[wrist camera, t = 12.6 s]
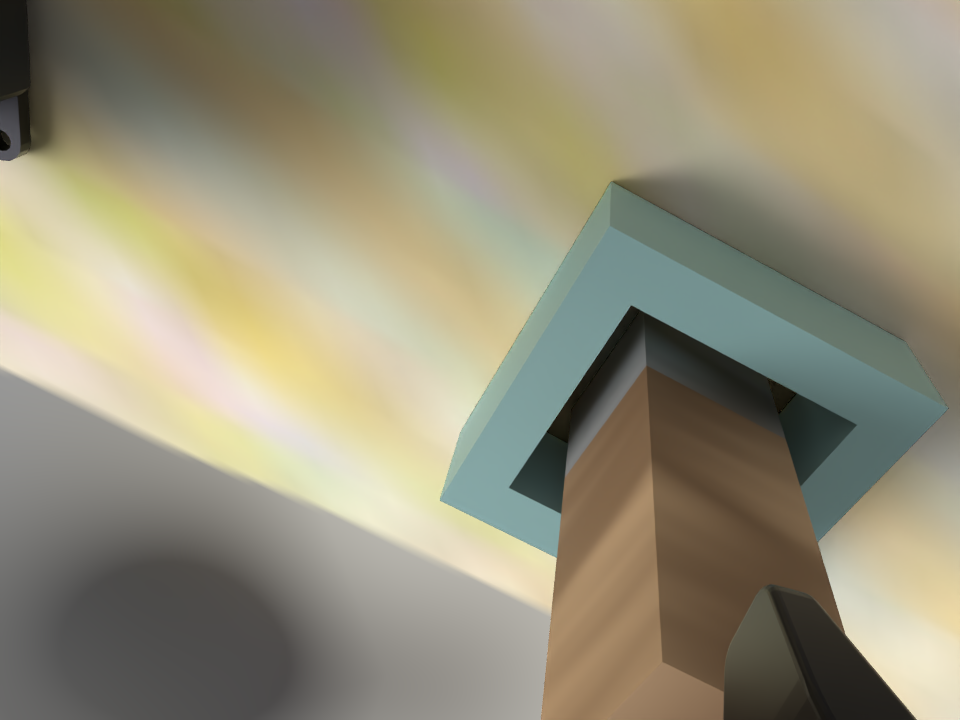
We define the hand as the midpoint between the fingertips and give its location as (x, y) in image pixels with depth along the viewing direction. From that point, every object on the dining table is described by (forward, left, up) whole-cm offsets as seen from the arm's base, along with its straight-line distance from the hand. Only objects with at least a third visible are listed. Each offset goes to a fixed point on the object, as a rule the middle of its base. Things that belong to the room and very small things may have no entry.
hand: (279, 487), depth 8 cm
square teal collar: (+6, -5, -13) cm, 15 cm away
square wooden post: (+6, -5, -13) cm, 15 cm away
